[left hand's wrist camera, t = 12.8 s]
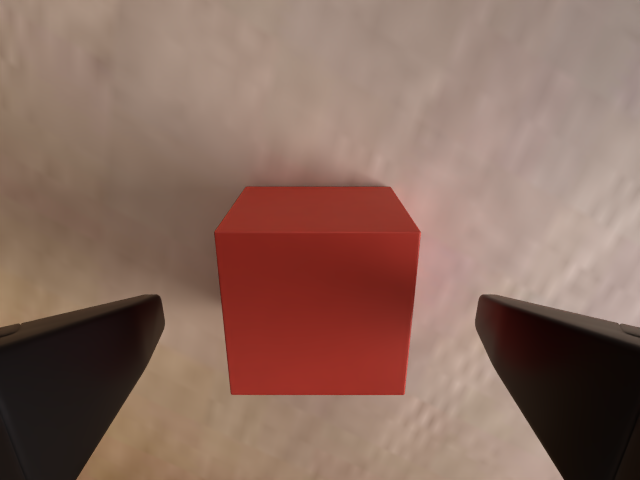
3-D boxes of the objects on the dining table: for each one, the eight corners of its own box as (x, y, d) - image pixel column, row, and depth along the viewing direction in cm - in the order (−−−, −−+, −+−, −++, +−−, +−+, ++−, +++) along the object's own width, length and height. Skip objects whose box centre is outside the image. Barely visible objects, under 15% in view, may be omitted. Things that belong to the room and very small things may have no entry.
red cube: (245, 186, 14) (213, 231, 10) (390, 186, 14) (421, 231, 10) (254, 312, 16) (230, 395, 12) (382, 312, 16) (404, 395, 12)
